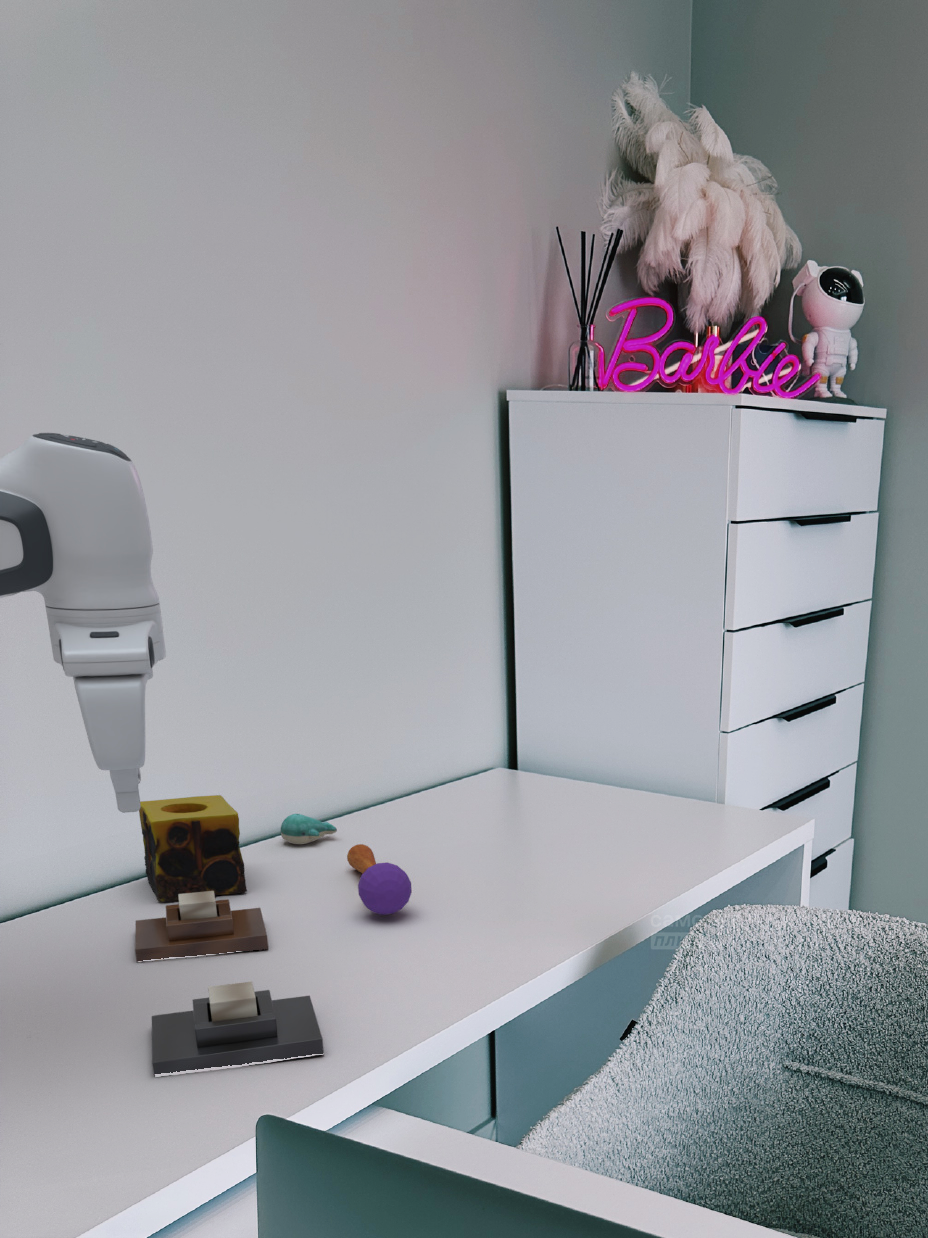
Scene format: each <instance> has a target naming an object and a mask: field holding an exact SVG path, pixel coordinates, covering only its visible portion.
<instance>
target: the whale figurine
mask: <svg viewBox="0 0 928 1238" xmlns="http://www.w3.org/2000/svg"><path fill="white" fill-rule="evenodd" d="M337 832H338V829H337V827H336V826H335V825H333V824H331V823H329V822H328V821H324V822H323V821H321V820H318V819H316V818H314V817H310V816H307V815H304V814H301V813H292V814H290V815H288V816H286V817H285V818H284V819H283V821H282V822H281V825H280V836H281V838H282V840H284V841H286V842H288V843H291V844H295V845H306V844H309V843H312V842H315V841H317V840H319V839H321V838H323V837H324V836H326V835H333V834H335V833H337Z"/></svg>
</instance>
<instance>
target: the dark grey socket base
mask: <svg viewBox="0 0 928 1238" xmlns="http://www.w3.org/2000/svg"><path fill="white" fill-rule="evenodd" d="M254 992H255V997H256V1006H257V1015H258V1016H253V1017H245V1018H237V1019H230V1020H222V1021H215V1022H212V1017H211V1009H210V1001H209V996H207V997H201V998H193V999H192V1010H186V1011H179V1012H169V1013H163V1014H155V1015H151V1065H152V1073H153V1075H154V1074H161V1073H170V1072H171V1073H173V1072H176V1071H177V1072H180V1071H186V1070H195V1069H197V1070H198V1069H204V1068H211V1067H222V1066H228V1065H230V1066H232V1065H242V1064H245V1063H247V1064H249V1063H252V1062H263V1061H267V1060H273V1059H284V1058H285V1059H287V1058H291V1057H298V1056H306V1055H312V1054H323V1053H324V1054H325V1051H324V1050H325V1049H324V1039H323V1036H322V1033H321V1028H320V1026H319V1022H318V1019H317V1016H316V1012H315V1008H314V1006H313V1005H314V1004H313V1001H312V999H311V995H302V996H295V997H287V998H280V999H272V995H271V990H270V989H265V990H257V991H254Z"/></svg>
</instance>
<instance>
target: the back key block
mask: <svg viewBox="0 0 928 1238" xmlns="http://www.w3.org/2000/svg"><path fill="white" fill-rule="evenodd" d="M215 902H216V910H217V917H210V918H200V919H190V920H181V915H180V908H179V903H177V904H167V905H165V917H155V918H147V919H137V920H135V926H134V927H135V929H134V930H135V931H134V953H135V960H136V962H137V961H143V960H151V959H161V958H163V959H164V958H169V957H185V956H197V955H206V954H219V953H227V952H236V951H250V952H254V951H253V950H259V951H266V950H265V949H268V950H269V942H268V941H269V940H268V934H267V929H266V925H265V922H264V917H263V913H262V909H261V907H253V908H252V907H251V908H244V909H235V910H233V909H231V903H230V899H229V898H227V899H215ZM262 949H264V950H262ZM251 950H252V951H251Z"/></svg>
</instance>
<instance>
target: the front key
mask: <svg viewBox="0 0 928 1238" xmlns="http://www.w3.org/2000/svg"><path fill="white" fill-rule="evenodd" d="M254 987H255V986H254V982H253V981H246V982H245V981H244V982H235V983H227V984H220V985H212V986H208V987H207V990H208V991H207V992H208V997H209V1001H210V1009H211V1017H212V1022H215V1021H222V1020H230V1019H237V1018H245V1017H253V1016H258V1015H257V1006H256V997H255V992H256V991H255V989H254Z"/></svg>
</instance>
